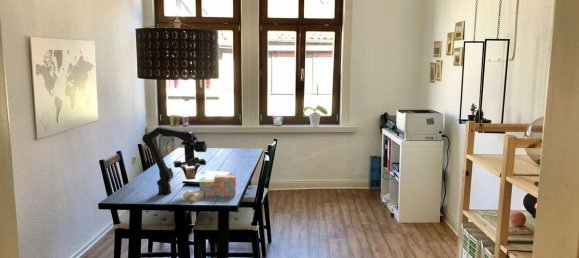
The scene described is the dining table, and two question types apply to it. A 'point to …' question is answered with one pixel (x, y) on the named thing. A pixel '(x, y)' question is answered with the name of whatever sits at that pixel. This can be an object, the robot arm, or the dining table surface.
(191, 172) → the walnut cube
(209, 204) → the dining table surface
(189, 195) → the birch block
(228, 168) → the dining table surface
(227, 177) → the stack of blocks
